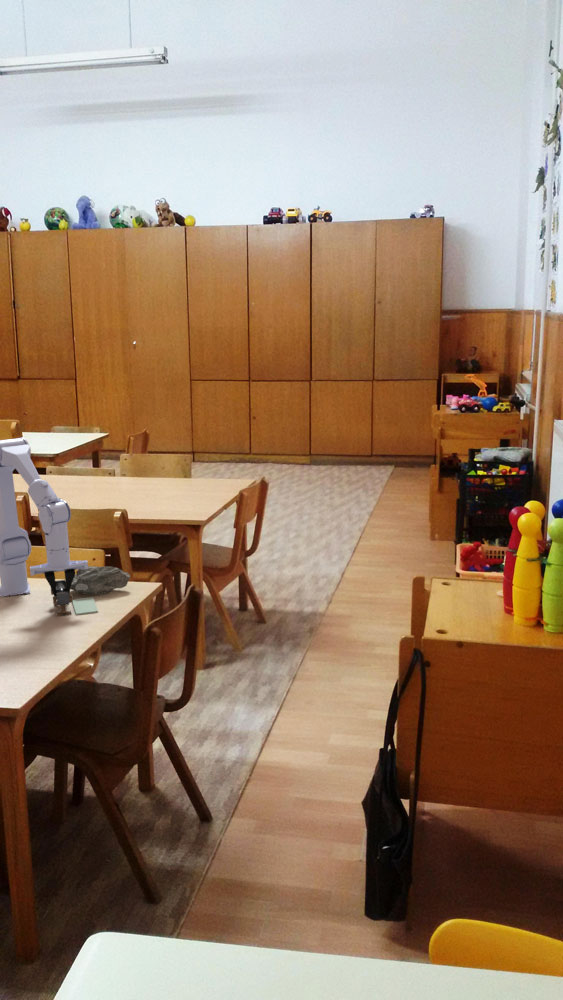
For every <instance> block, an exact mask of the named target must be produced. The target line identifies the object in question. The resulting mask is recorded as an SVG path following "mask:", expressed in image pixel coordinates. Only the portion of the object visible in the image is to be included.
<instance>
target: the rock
mask: <svg viewBox="0 0 563 1000" xmlns="http://www.w3.org/2000/svg"><path fill="white" fill-rule="evenodd" d="M130 578H131V575H130V574H129V573H128V572H126V571H123V570H122V569H121V568H118V567H116V566H115V567H114V566H96V565H93V566H90V565H88V569H77V570H75V577H74V579H73V581H72V584H71V588H70V591H71V590H72V591H73V592H77V593H78V594H81V595H84V594H83V593H86V594H87V595H94V594H101V595H102V594H108V593H110V592H112V591H113V590H116V589H122V588H125V587H127V585H128V583H129V580H130ZM65 585H66V582H65ZM86 594H85V595H86Z"/></svg>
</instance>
